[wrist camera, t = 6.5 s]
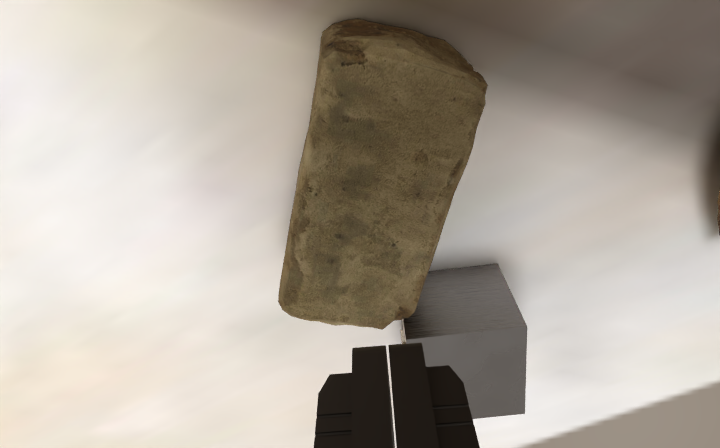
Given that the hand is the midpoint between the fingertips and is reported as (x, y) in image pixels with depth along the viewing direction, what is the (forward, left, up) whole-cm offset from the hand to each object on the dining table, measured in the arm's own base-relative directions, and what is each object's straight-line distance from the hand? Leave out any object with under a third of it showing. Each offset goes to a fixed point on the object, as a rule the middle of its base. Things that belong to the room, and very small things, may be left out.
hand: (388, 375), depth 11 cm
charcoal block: (-3, +9, -13) cm, 16 cm away
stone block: (0, 0, -14) cm, 14 cm away
